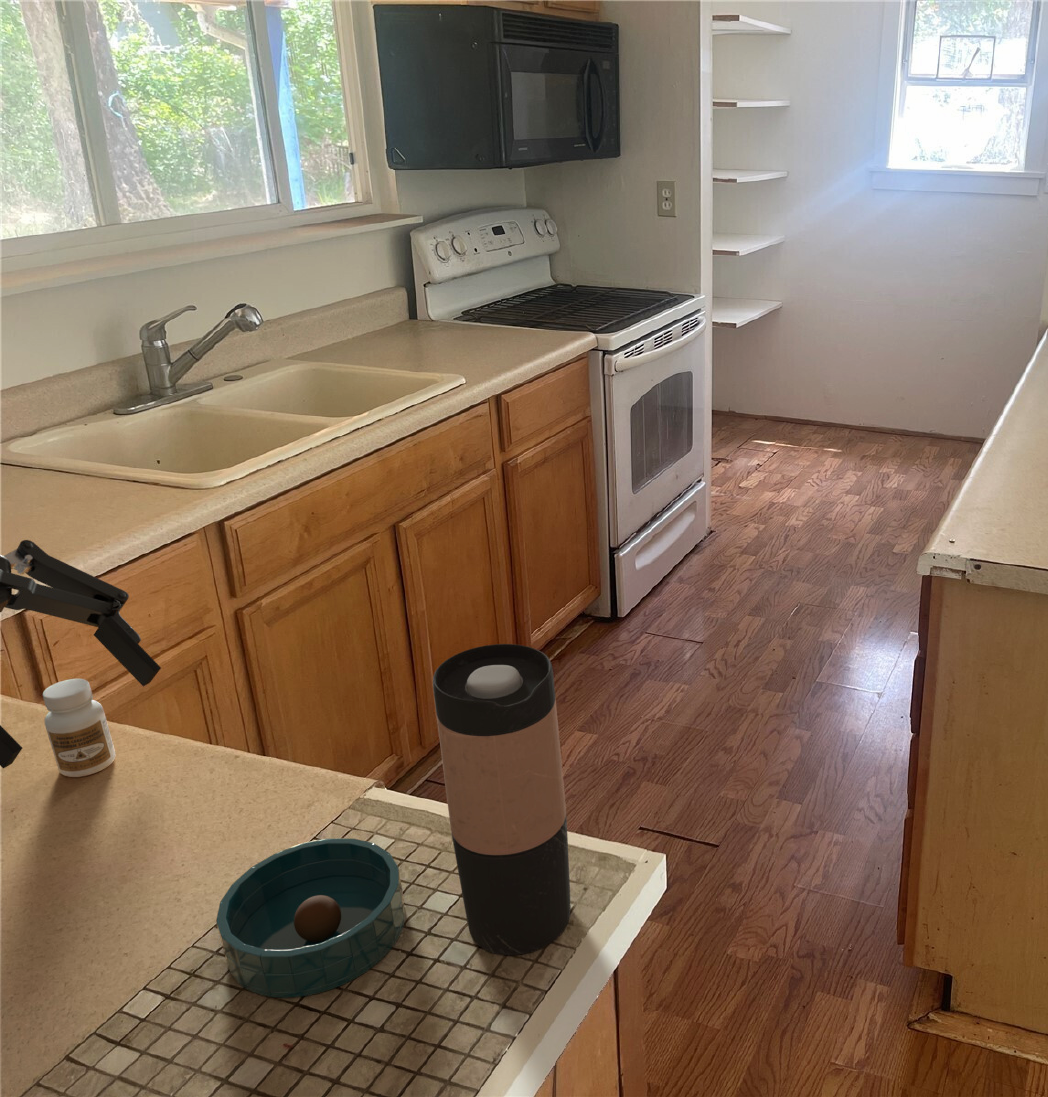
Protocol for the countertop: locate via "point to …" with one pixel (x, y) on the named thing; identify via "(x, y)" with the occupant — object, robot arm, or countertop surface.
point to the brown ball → (317, 918)
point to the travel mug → (505, 794)
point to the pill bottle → (77, 729)
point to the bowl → (273, 898)
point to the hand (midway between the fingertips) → (87, 715)
